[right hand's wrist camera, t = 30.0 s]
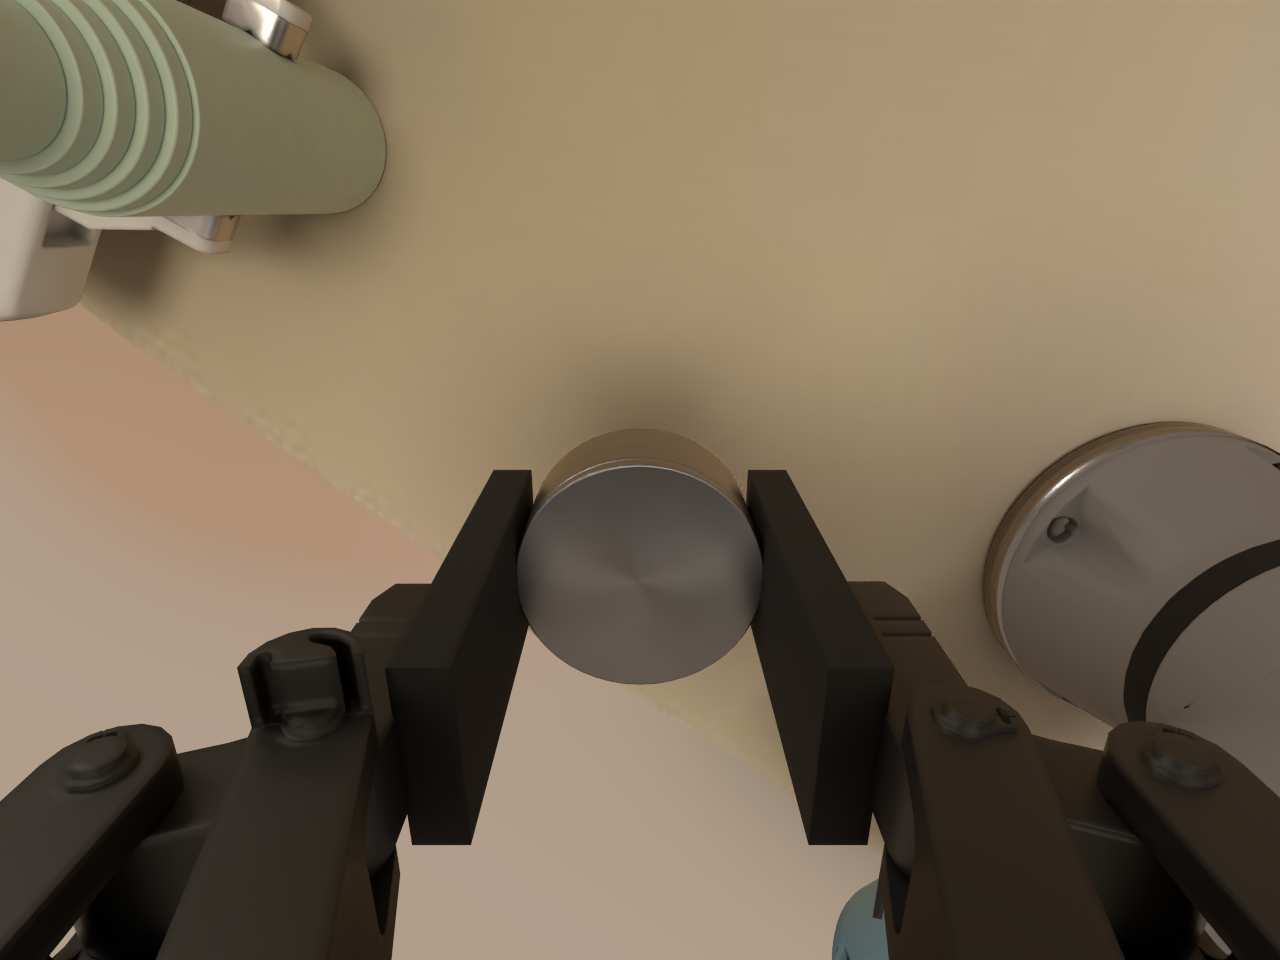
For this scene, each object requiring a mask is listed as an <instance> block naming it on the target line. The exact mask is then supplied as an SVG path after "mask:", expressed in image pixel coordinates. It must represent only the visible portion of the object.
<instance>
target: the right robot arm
mask: <svg viewBox="0 0 1280 960" xmlns="http://www.w3.org/2000/svg"><path fill="white" fill-rule="evenodd" d="M746 506H747V509H748V512H749V515H750V518H751V520H752V523H753V526H754V529H755V532H756V535H757V537H758V541H759V544H760V547H761V550H762V555H763V570H762V585H761V598H760V605H759V608H758V610H757V612H756V615H755V617H754V619H753V621H752V623H751V628H752V632H753V635H754V639H755V643H756V647H757V651H758V654H759V658H760V662H761V666H762V670H763V673H764V677H765V681H766V685H767V689H768V692H769V696H770V700H771V704H772V708H773V711H774V715H775V719H776V723H777V727H778V730H779V734H780V738H781V742H782V746H783V749H784V753H785V757H786V761H787V764H788V768H789V772H790V776H791V780H792V783H793V787H794V791H795V795H796V799H797V802H798V806H799V810H800V814H801V818H802V821H803V825H804V829H805V833H806V837H807V840H808V844H809V845H867V844H868V837H869V831H870V825H871V818H872V812H873V814H874V816H875V819H876V821H877V824H878V827H879V829H880V832H881V835H882V837H883V840H884V842H885V844H884V850H883V856H882V862H881V868H880V874H879V878H878V879H877V880H875V881H873V882H872V883H870V884H868V885H867V886H865V887H863V888H862V889H860V890H859V891H858V892H856V893H855V894H854V895H853V896H852V897H851V898H850V900H849V901H848V902H847V903H846V905H845V907H844V908H843V910H842V912H841V914H840V917H839V919H838V922H837V926H836V930H835V935H834V941H833V949H832V960H1280V453H1278V452H1276V451H1274V450H1273V449H1271V448H1269V447H1267V446H1265V445H1262V444H1260V443H1257V442H1255V441H1252V440H1249V439H1247V438H1244V437H1242V436H1239V435H1236V434H1234V433H1231V432H1228V431H1226V430H1223V429H1220V428H1216V427H1212V426H1209V425H1203V424H1196V423H1185V422H1167V423H1155V424H1147V425H1142V426H1137V427H1133V428H1128V429H1125V430H1122V431H1118V432H1115V433H1112V434H1110V435H1107V436H1105V437H1102V438H1099V439H1097V440H1095V441H1093V442H1091V443H1089V444H1087V445H1085V446H1083V447H1081V448H1079V449H1077V450H1076V451H1074V452H1072V453H1071V454H1069V455H1067V456H1066V457H1064V458H1063V459H1062V460H1060V461H1059V462H1057V463H1056V464H1054V465H1053V466H1052V467H1051V468H1049V469H1048V470H1047V471H1046V472H1045V473H1043V474H1042V475H1041V476H1040V477H1039V478H1038V479H1037V480H1036V481H1035V482H1034V483H1033V484H1032V485H1031V486H1030V487H1029V488H1028V489H1027V490H1026V491H1025V492H1024V493H1023V494H1022V496H1021V497H1020V498H1019V499H1018V500H1017V502H1016V503H1015V504H1014V506H1013V507H1012V508H1011V510H1010V511H1009V513H1008V514H1007V516H1006V518H1005V519H1004V521H1003V522H1002V524H1001V526H1000V528H999V530H998V532H997V534H996V536H995V538H994V541H993V544H992V546H991V549H990V552H989V556H988V559H987V563H986V569H985V575H984V602H985V607H986V612H987V616H988V619H989V622H990V625H991V627H992V630H993V632H994V634H995V636H996V637H997V639H998V641H999V642H1000V644H1001V645H1002V647H1003V648H1004V649H1005V650H1006V651H1007V653H1008V654H1009V655H1010V656H1011V658H1012V659H1013V660H1014V661H1015V662H1016V664H1017V665H1018V666H1019V667H1020V668H1021V670H1022V671H1023V672H1024V673H1025V674H1026V676H1028V677H1029V678H1030V679H1031V680H1032V681H1033V682H1034V683H1035V684H1036V685H1038V686H1039V687H1040V688H1042V689H1043V690H1044V691H1046V692H1048V693H1050V694H1051V695H1053V696H1055V697H1057V698H1059V699H1061V700H1064V701H1066V702H1068V703H1070V704H1072V705H1074V706H1077V707H1079V708H1081V709H1083V710H1085V711H1086V712H1088V713H1090V714H1091V715H1093V716H1094V717H1096V718H1098V719H1100V720H1101V721H1103V722H1105V723H1107V724H1108V725H1110V726H1112V727H1113V728H1114V729H1113V730H1112V731H1110V732H1109V734H1108V737H1107V741H1106V744H1105V747H1104V751H1101V750H1096V749H1091V748H1087V747H1082V746H1077V745H1073V744H1068V743H1063V742H1059V741H1054V740H1050V739H1046V738H1043V737H1039V736H1036V735H1032V734H1031V732H1030V730H1029V728H1028V726H1027V725H1026V723H1025V722H1024V720H1023V719H1022V717H1021V716H1020V715H1019V713H1018V712H1017V711H1016V710H1014V709H1013V708H1012V707H1010V706H1009V705H1008V704H1006V703H1005V702H1004V701H1002V700H1001V699H999V698H997V697H995V696H993V695H991V694H988V693H986V692H984V691H982V690H980V689H976V688H972V687H968V686H967V684H966V683H965V681H964V680H963V678H962V677H961V675H960V674H959V672H958V671H957V669H956V668H955V667H954V665H953V664H952V662H951V661H950V659H949V658H948V656H947V655H946V653H945V652H944V650H943V649H942V647H941V646H940V645H939V643H938V642H937V640H936V639H935V637H932V636H931V631H930V630H929V628H928V627H927V625H926V624H925V623H924V621H921V617H920V615H919V614H918V612H917V611H916V609H915V608H914V606H913V605H912V603H911V602H910V600H909V599H908V598H907V597H906V596H904V595H903V594H901V593H900V592H898V591H897V590H896V589H894V588H893V587H891V586H890V585H888V584H887V583H885V582H847V581H846V579H845V577H844V575H843V573H842V572H841V570H840V568H839V566H838V564H837V562H836V561H835V559H834V557H833V555H832V553H831V552H830V550H829V548H828V546H827V544H826V542H825V541H824V539H823V537H822V535H821V533H820V531H819V530H818V528H817V526H816V524H815V522H814V521H813V519H812V517H811V515H810V513H809V511H808V510H807V508H806V506H805V504H804V502H803V501H802V499H801V497H800V495H799V493H798V491H797V490H796V488H795V486H794V484H793V482H792V481H791V479H790V477H789V475H788V473H787V471H786V470H748V482H747V499H746ZM532 508H533V490H532V473H531V470H494V471H493V472H492V474H491V476H490V478H489V480H488V481H487V483H486V485H485V487H484V489H483V491H482V492H481V494H480V496H479V498H478V500H477V501H476V503H475V505H474V507H473V509H472V511H471V512H470V514H469V516H468V518H467V520H466V522H465V523H464V525H463V527H462V529H461V531H460V532H459V534H458V536H457V538H456V540H455V542H454V543H453V545H452V547H451V549H450V551H449V552H448V554H447V556H446V558H445V560H444V562H443V563H442V565H441V567H440V569H439V571H438V572H437V574H436V576H435V578H434V580H433V582H432V583H431V584H395V585H393V586H392V587H391V588H389V589H388V590H386V591H385V592H383V593H382V594H380V595H379V596H377V597H376V598H375V599H373V600H372V601H371V603H370V604H369V606H368V607H367V609H366V610H365V612H364V613H363V615H362V616H361V617H360V619H359V623H356V625H355V626H354V628H353V629H352V631H351V632H349V631H345V630H341V629H337V628H311V629H306V630H301V631H296V632H292V633H288V634H286V635H283V636H281V637H278V638H275V639H273V640H270V641H268V642H266V643H265V644H263V645H261V646H260V647H258V648H257V649H255V650H254V651H252V652H251V653H249V654H248V655H247V657H246V658H245V659H244V660H243V661H242V662H241V664H240V665H239V666H238V667H237V669H238V673H239V677H240V681H241V685H242V690H243V694H244V698H245V702H246V706H247V710H248V714H249V718H250V722H251V726H252V729H251V731H250V734H249V736H248V738H244V739H241V740H237V741H234V742H230V743H226V744H221V745H217V746H212V747H207V748H203V749H198V750H194V751H189V752H184V753H179V754H177V753H176V749H175V746H174V743H173V739H172V736H171V735H170V734H169V733H167V732H166V731H165V730H164V729H163V728H161V727H157V726H152V725H146V724H137V725H128V726H118V727H115V728H111V729H107V730H105V731H100V732H97V733H94V734H91V735H89V736H87V737H85V738H83V739H81V740H79V741H77V742H75V743H73V744H71V745H69V746H67V747H65V748H63V749H61V750H60V751H59V752H57V753H56V754H55V755H53V756H52V757H51V758H49V759H48V760H46V761H45V762H44V763H42V764H41V765H40V766H39V767H38V768H36V769H35V770H34V771H33V772H32V773H31V774H30V775H29V776H28V777H27V778H25V779H24V780H23V781H22V782H21V783H20V784H19V785H18V786H17V787H16V788H15V789H14V790H12V791H11V792H10V793H9V794H8V795H7V796H6V797H5V798H4V799H2V800H1V801H0V960H391V958H392V948H393V939H394V929H395V919H396V909H397V900H398V890H399V880H400V870H399V863H398V856H397V850H396V842H397V839H398V837H399V834H400V832H401V829H402V826H403V824H404V821H405V819H406V816H407V815H408V821H409V828H410V834H411V840H412V845H471V842H472V838H473V835H474V831H475V827H476V823H477V820H478V816H479V812H480V808H481V804H482V801H483V797H484V793H485V789H486V786H487V782H488V778H489V774H490V770H491V767H492V763H493V759H494V755H495V751H496V748H497V744H498V740H499V736H500V732H501V729H502V725H503V721H504V717H505V713H506V710H507V706H508V702H509V698H510V694H511V691H512V687H513V683H514V679H515V675H516V672H517V668H518V664H519V660H520V656H521V653H522V649H523V645H524V641H525V637H526V634H527V630H528V626H529V624H528V622H527V620H526V618H525V616H524V614H523V612H522V609H521V606H520V602H519V591H518V577H517V552H518V548H519V545H520V542H521V538H522V536H523V533H524V530H525V527H526V524H527V522H528V519H529V516H530V513H531V510H532ZM73 925H74V928H75V930H76V933H75V934H74V936H73V937H72V938H71V939H70V941H69V942H68V943H67V944H66V946H65V947H64V948H63V949H62V950H60V951H59V952H58V953H57V954H56V955H55V956H54V957H53V958H51V957H50V956H49V955H50V954H51V952H52V951H53V950H54V949H55V947H56V946H57V945H58V944H59V942H60V941H61V940H62V939H63V938H64V936H65V935H66V934H67V933H68V931H69V930H70V929H71V928H72V926H73Z"/></svg>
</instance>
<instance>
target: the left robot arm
mask: <svg viewBox="0 0 1280 960" xmlns="http://www.w3.org/2000/svg"><path fill="white" fill-rule="evenodd" d="M221 18H222V19H223V20H225V21H227V22H228V23H230V24H231V25H233V26H235V27H237V28H239V29H241V30H243V31H245V32H247V33H249V34H252V35H254V37H255V38H256V39H257V40H258V41H260V42H261V43H263V44H264V45H266V46H267V47H269V48H271V49H272V50H274V51H276V52H278V53H280V54H282V55H284V56H288V57H290V58H292V59H294V60H297V58H298V55H299V53H300V50H301V48H302V45H303V42H304V40H305V37H306V35H307V32H308V31H309V28H310V25H311V22H312V19H313V16H311V15H310V14H309V13H307V12H305V11H304V10H302V9H301V8H299V7H298V6H296V5H294V4H293V3H291V2H290V1H288V0H226V4H225V7H224V10H223V14H222V17H221ZM240 216H241V215H217V216H154V217H102V216H94V215H89V214H85V213H81V212H78V211H75V210H71V209H67V208H63V207H59V206H56V205H54V204H51V203H48V202H46V201H44V200H42V199H40V198H38V197H36V196H33V195H31V194H30V193H28V192H27V191H25V190H23V189H21V188H19V187H17V186H15V185H13V184H11V183H9V182H8V181H6V180H4V179H2V178H0V321H13V320H21V319H29V318H34V317H39V316H44V315H47V314H51V313H55V312H59V311H62V310H66V309H69V308H72V307H74V306H75V305H77V304H78V303H79V301H80V299H81V296H82V294H83V291H84V287H85V284H86V281H87V277H88V274H89V270H90V267H91V264H92V260H93V257H94V254H95V250H96V247H97V244H98V240H99V237H100V234H101V230H102V229H113V230H159V231H161V232H163V233H165V234H167V235H169V236H170V237H172V238H174V239H176V240H178V241H180V242H181V243H183V244H185V245H187V246H189V247H191V248H192V249H194V250H197V251H200V252H203V253H206V254H219V253H227V252H228V249H229V246H230V244H231V241H232V238H233V235H234V233H235V230H236V227H237V224H238V221H239V219H240Z"/></svg>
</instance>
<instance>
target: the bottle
mask: <svg viewBox="0 0 1280 960" xmlns="http://www.w3.org/2000/svg"><path fill="white" fill-rule="evenodd" d="M385 160H386V142H385V135H384V131H383V127H382V124H381V121H380V119H379V116H378V114H377V112H376V110H375V108H374V107H373V105H372V104H371V102H370V101H369V99H368V98H367V96H366V95H365V94H364V93H363V92H362V91H361V89H359V88H358V87H357V86H356V85H355V84H354V83H353V82H352V81H350V80H349V79H347V78H346V77H345V76H343V75H341V74H339V73H337V72H335V71H333V70H331V69H329V68H326V67H324V66H322V65H320V64H318V63H315V62H313V61H311V60H309V59H306V58H304V57H302V56H300V55H298V58H297V60H294V59H292V58H290V57H288V56H284V55H282V54H280V53H278V52H276V51H274V50H272V49H271V48H269V47H267V46H266V45H264V44H263V43H261V42H260V41H258V40H257V39H256V38H255V37H254V35H252V34H249V33H247V32H245V31H243V30H241V29H239V28H237V27H235V26H232V25H230V24H228V23H226V22H223V21H221V20H219V19H217V18H215V17H212V16H210V15H208V14H206V13H203V12H201V11H199V10H197V9H194V8H192V7H190V6H188V5H185V4H183V3H181V2H179V1H176V0H0V178H2V179H4V180H6V181H8V182H9V183H11V184H13V185H15V186H17V187H19V188H21V189H23V190H25V191H27V192H28V193H30V194H31V195H33V196H36V197H38V198H40V199H42V200H44V201H46V202H48V203H51V204H54V205H56V206H59V207H63V208H67V209H71V210H75V211H78V212H81V213H85V214H89V215H94V216H102V217H154V216H217V215H280V214H333V213H340V212H345V211H348V210H351V209H353V208H355V207H357V206H358V205H360V204H361V203H363V202H364V201H365V200H366V199H367V198H368V197H369V196H370V195H371V194H372V193H373V191H374V190H375V189H376V187H377V185H378V183H379V182H380V179H381V177H382V174H383V171H384V166H385Z"/></svg>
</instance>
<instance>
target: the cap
mask: <svg viewBox="0 0 1280 960" xmlns="http://www.w3.org/2000/svg"><path fill="white" fill-rule="evenodd" d="M762 570H763V555H762V550H761V547H760V544H759V541H758V537H757V535H756V532H755V529H754V526H753V523H752V520H751V518H750V515H749V512H748V509H747V506H746V503H745V501H744V498H743V495H742V493H741V490H740V488H739V486H738V484H737V482H736V481H735V479H734V478H733V476H732V475H731V473H730V472H729V470H728V469H727V468H726V467H725V466H724V465H723V464H722V463H721V461H720V460H719V459H717V458H716V457H715V456H714V455H713V454H711V453H710V452H709V451H708V450H706V449H705V448H703V447H701V446H700V445H698V444H697V443H695V442H693V441H691V440H688V439H686V438H684V437H682V436H678V435H675V434H672V433H669V432H664V431H658V430H650V429H630V430H621V431H616V432H611V433H607V434H604V435H601V436H598V437H595V438H593V439H591V440H589V441H587V442H585V443H583V444H581V445H580V446H578V447H577V448H575V449H574V450H572V451H570V452H569V453H568V454H567V455H566V456H565V457H563V458H562V459H561V460H560V461H559V462H558V463H557V464H556V465H555V467H554V468H553V469H552V470H551V471H550V472H549V474H548V476H547V477H546V479H545V480H544V482H543V483H542V485H541V488H540V490H539V492H538V494H537V496H536V499H535V502H534V505H533V508H532V510H531V513H530V516H529V519H528V522H527V524H526V527H525V530H524V533H523V536H522V538H521V542H520V545H519V548H518V552H517V577H518V591H519V602H520V606H521V609H522V612H523V614H524V616H525V618H526V620H527V622H528V624H529V625H530V627H531V629H532V630H533V632H534V633H535V635H536V636H537V637H538V638H539V639H540V641H541V642H542V643H543V644H544V645H545V646H546V647H547V648H548V649H549V650H550V651H551V652H552V653H553V654H554V655H556V656H557V657H558V658H560V659H561V660H562V661H564V662H565V663H567V664H568V665H570V666H572V667H574V668H575V669H577V670H579V671H581V672H583V673H586V674H588V675H591V676H593V677H596V678H600V679H603V680H607V681H611V682H617V683H623V684H640V685H642V684H657V683H662V682H668V681H673V680H676V679H680V678H683V677H686V676H689V675H691V674H694V673H696V672H698V671H701V670H702V669H704V668H706V667H708V666H710V665H711V664H713V663H714V662H716V661H717V660H719V659H720V658H721V657H723V656H724V655H725V654H726V653H727V652H728V651H730V650H731V649H732V648H733V647H734V646H735V645H736V644H737V642H738V641H739V640H740V639H741V638H742V636H743V635H744V634H745V632H746V631H747V629H748V628H749V626H750V625H751V623H752V621H753V619H754V617H755V615H756V612H757V610H758V608H759V605H760V598H761V585H762Z"/></svg>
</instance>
